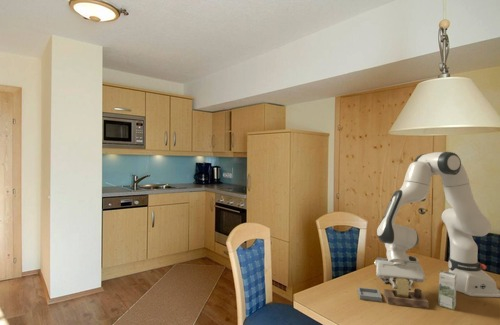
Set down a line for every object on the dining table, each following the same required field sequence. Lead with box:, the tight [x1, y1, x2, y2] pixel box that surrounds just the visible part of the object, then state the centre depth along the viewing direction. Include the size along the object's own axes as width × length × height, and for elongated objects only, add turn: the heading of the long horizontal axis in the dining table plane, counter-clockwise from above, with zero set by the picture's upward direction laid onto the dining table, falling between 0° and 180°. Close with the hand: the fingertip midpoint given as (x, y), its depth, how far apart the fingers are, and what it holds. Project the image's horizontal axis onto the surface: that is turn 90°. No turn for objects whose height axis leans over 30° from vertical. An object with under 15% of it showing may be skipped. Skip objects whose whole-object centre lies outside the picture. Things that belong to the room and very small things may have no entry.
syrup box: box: [438, 270, 457, 311], centre depth 127 cm, size 6×6×14 cm
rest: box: [357, 286, 383, 303], centre depth 135 cm, size 9×8×2 cm
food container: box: [376, 256, 391, 284], centre depth 153 cm, size 12×6×10 cm, turn 179°
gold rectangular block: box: [394, 277, 410, 298], centre depth 131 cm, size 4×4×10 cm
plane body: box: [383, 288, 429, 310], centre depth 130 cm, size 16×8×6 cm, turn 76°
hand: (402, 289), depth 130 cm, fingers closed on gold rectangular block, 4 cm apart
